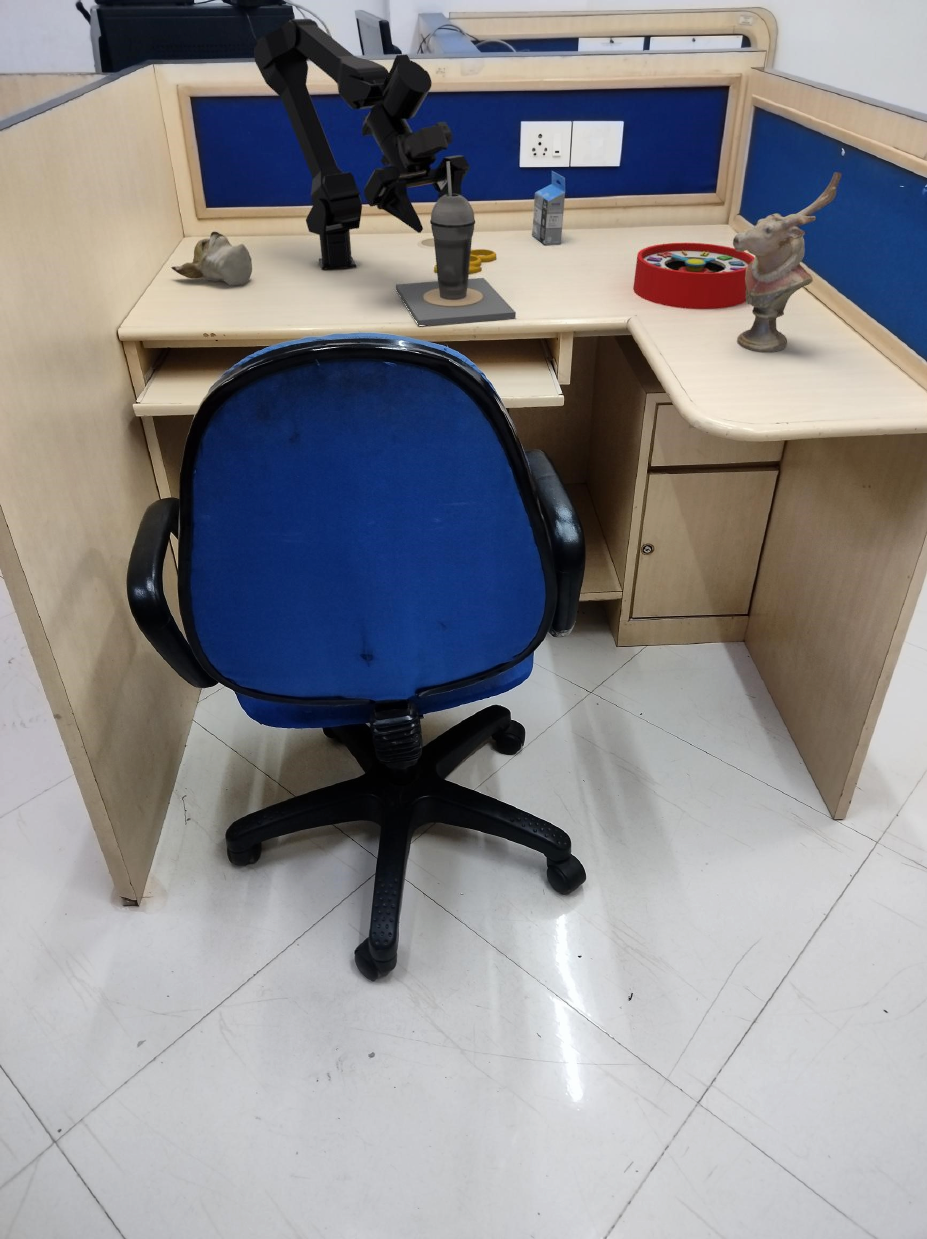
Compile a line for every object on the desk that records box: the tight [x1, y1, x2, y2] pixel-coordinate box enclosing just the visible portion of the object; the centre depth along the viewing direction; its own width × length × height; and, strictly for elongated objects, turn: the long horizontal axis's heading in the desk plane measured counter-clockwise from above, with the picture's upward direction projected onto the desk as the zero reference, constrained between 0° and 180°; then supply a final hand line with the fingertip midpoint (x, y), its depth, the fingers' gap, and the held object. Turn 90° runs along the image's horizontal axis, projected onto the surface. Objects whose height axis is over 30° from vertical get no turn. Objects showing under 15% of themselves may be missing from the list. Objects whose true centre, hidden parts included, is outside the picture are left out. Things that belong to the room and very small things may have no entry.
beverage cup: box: [429, 161, 476, 300], centre depth 136 cm, size 7×7×20 cm
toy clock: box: [632, 242, 755, 310], centre depth 146 cm, size 20×6×20 cm
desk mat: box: [395, 277, 517, 327], centre depth 142 cm, size 20×16×1 cm
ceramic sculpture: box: [171, 231, 253, 287], centre depth 152 cm, size 11×9×15 cm
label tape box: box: [531, 170, 566, 246], centre depth 173 cm, size 9×4×12 cm, turn 14°
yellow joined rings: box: [433, 248, 497, 275], centre depth 162 cm, size 17×2×10 cm
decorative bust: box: [732, 171, 843, 353], centre depth 119 cm, size 11×12×24 cm
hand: (442, 226), depth 137 cm, fingers open, 9 cm apart
